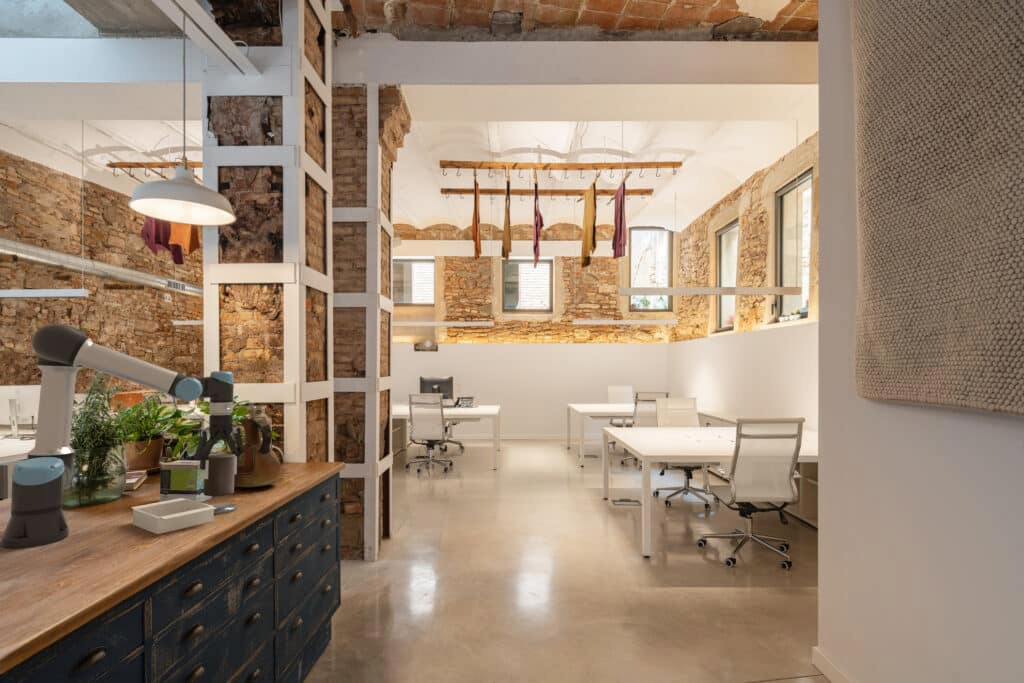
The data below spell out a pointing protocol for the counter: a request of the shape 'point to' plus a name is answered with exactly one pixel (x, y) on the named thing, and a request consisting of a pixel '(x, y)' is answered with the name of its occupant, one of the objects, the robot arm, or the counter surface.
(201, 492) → the tea box
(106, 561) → the counter surface
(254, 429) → the ceramic pitcher
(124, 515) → the counter surface
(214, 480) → the pillar candle
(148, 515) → the white rectangular tray
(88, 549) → the counter surface
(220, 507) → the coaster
